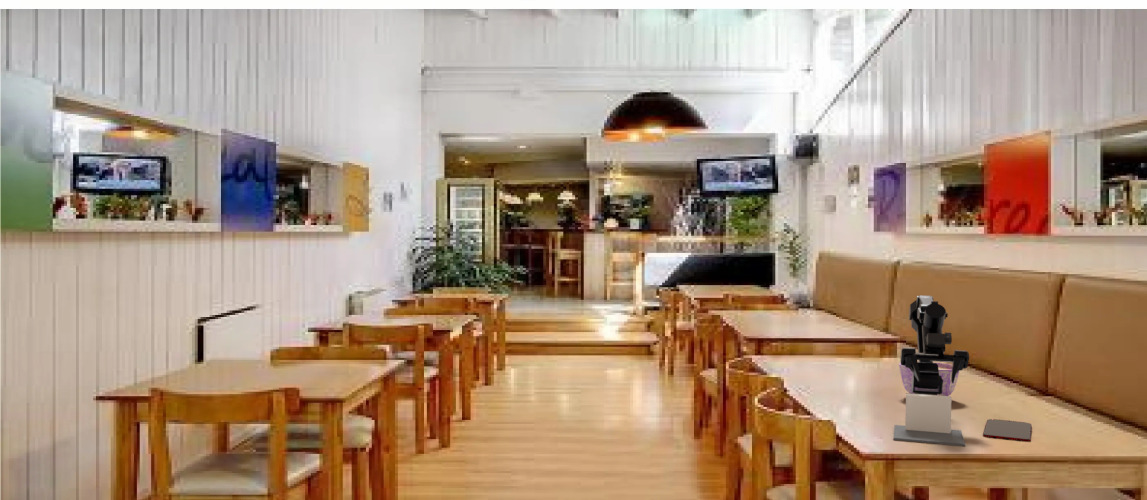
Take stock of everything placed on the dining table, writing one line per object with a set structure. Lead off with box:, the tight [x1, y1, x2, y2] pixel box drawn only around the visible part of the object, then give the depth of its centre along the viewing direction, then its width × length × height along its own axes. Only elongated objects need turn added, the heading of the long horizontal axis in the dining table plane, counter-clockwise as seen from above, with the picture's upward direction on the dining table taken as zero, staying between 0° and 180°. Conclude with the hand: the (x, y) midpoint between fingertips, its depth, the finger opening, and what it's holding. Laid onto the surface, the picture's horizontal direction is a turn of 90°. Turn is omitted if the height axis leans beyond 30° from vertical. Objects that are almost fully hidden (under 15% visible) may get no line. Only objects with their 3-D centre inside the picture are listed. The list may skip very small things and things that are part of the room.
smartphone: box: [982, 418, 1033, 443], centre depth 262 cm, size 12×2×25 cm
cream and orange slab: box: [904, 392, 952, 433], centre depth 258 cm, size 3×12×10 cm, turn 70°
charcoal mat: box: [892, 424, 966, 447], centre depth 253 cm, size 19×18×1 cm
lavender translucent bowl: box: [898, 362, 961, 396], centre depth 315 cm, size 20×20×12 cm
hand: (935, 381), depth 265 cm, fingers open, 9 cm apart
